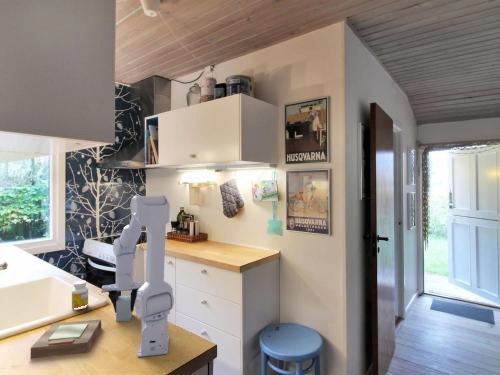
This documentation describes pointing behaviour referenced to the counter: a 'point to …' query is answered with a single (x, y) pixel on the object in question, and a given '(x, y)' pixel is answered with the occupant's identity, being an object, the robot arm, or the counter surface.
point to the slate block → (123, 308)
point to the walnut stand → (66, 338)
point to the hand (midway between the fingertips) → (124, 311)
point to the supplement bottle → (79, 294)
